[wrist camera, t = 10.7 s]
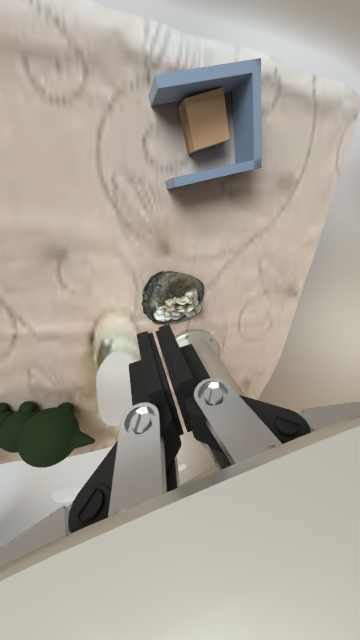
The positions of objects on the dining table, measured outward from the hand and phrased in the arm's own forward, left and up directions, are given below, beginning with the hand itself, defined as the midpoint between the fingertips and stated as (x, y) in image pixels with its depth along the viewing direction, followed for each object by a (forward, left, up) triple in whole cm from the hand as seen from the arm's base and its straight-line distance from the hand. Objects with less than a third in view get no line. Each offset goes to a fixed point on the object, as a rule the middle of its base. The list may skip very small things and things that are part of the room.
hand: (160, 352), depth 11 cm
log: (-10, -5, -28) cm, 30 cm away
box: (+12, -14, -27) cm, 33 cm away
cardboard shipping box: (+13, -14, -27) cm, 34 cm away
